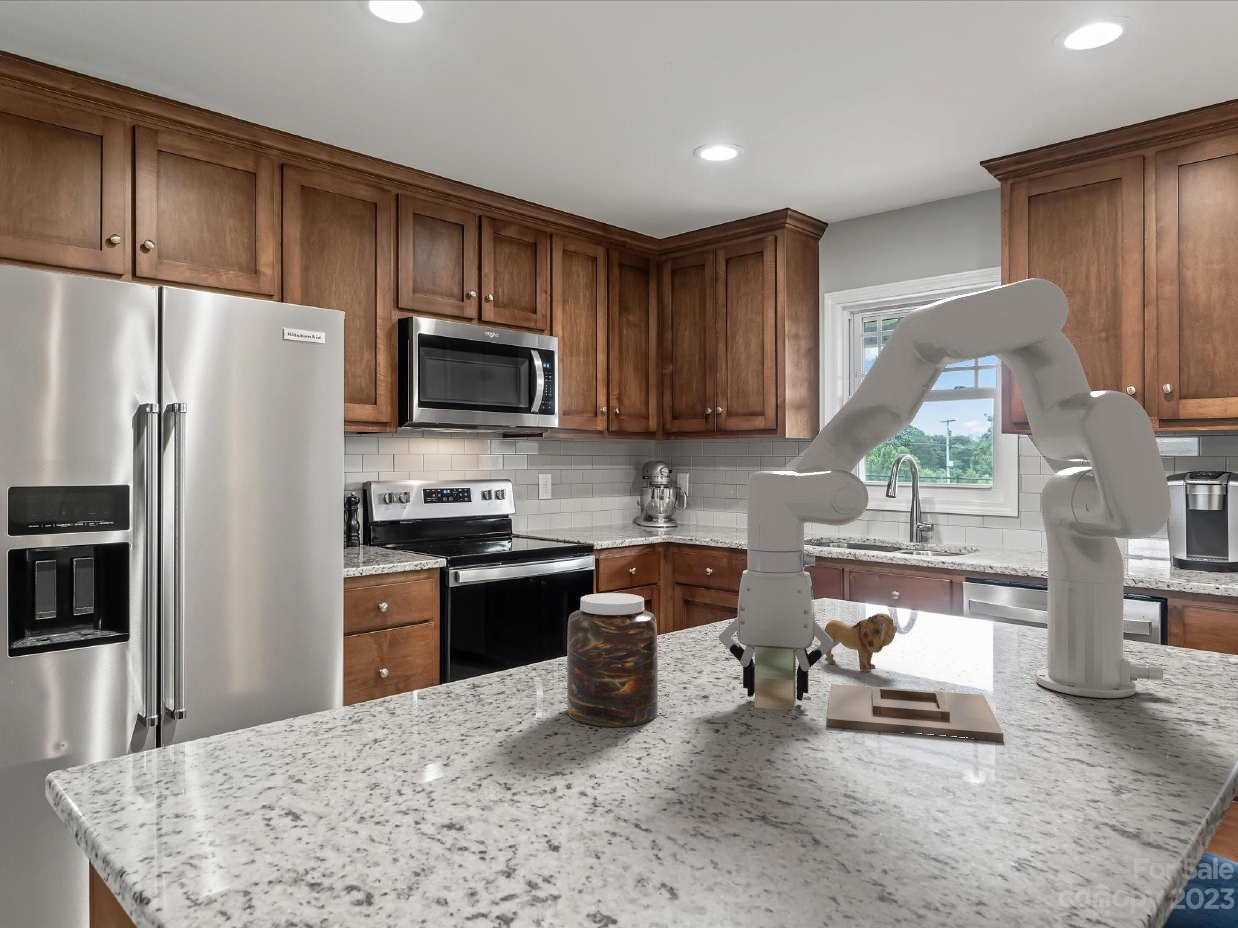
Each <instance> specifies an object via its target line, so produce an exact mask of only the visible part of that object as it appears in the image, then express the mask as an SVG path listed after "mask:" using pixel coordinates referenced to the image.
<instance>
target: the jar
mask: <svg viewBox="0 0 1238 928" xmlns="http://www.w3.org/2000/svg"><path fill="white" fill-rule="evenodd" d="M579 603H580V605H579V606H580V607H579V610H575V611H573V612H572V613H570V614H569V616H568V621H567V622H568V623H567V642H566V643H567V645H566V648H567V649H566V650H567V653H566V656H567V657H566V658H567V659H566V660H567V661H566V665H567V666H566V669H567V670H566V672H567V673H566V674H567V678H566V679H567V683H566V684H567V685H566V686H567V689H566V691H567V693H566V695H567V696H566V697H567V698H566V699H567V701H566V702H567V714H568V716H569V717H570V719H572V720H574V721H576V722H578V723H582V724H585V725H589V726H590V725H591V726H596V727H602V728H603V727H605V728H606V727H607V728H621V727H633V726H638V725H643V724H646V723H649V722H651V721H653V720H654V719H656V717H657V716H658V708H659V707H658V703H659V702H658V701H659V699H658V697H659V696H658V693H659V692H658V690H659V689H658V687H659V685H658V684H659V683H658V678H659V677H658V675H659V670H658V665H659V663H658V660H659V659H658V658H659V657H658V626H657V618H656V616H655V614H653V613H652V612H650V611H648V610H646V609H645V598H644V597H643V596H641V595H637V594H632V593H622V592H621V593H620V592H618V593H617V592H603V593H602V592H601V593H593V594H592V593H591V594H585V595H584V596H581V597H580V602H579Z"/></svg>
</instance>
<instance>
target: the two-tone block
mask: <svg viewBox="0 0 1238 928" xmlns="http://www.w3.org/2000/svg"><path fill="white" fill-rule="evenodd" d="M796 663H797V657H796V654H795V652H794V649H792V648H775V647H760V646H755V652H754V664H755V693H754V708H758V709H769V710H779V711H781V710H783V711H792V712H793V711H794V709H795V705H796V700H797V666H796V665H797V664H796Z"/></svg>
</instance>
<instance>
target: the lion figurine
mask: <svg viewBox="0 0 1238 928" xmlns="http://www.w3.org/2000/svg"><path fill="white" fill-rule="evenodd" d="M897 629H898V627H897V626H896V625H895V624H894V619H893V618H892V617H891V616H890V615H889V614H887V613H884V612H881V613H876V614H873V615H872V616H869V617H868V618H865V619H862V620H861V619H860V620H859V621H858V622H857V623H856V624H855V625H854V624H853V625H848V624H847V623H844V622H843V621H841V620H836V619H834V620H830V621H829V622H828V623H826V625H825V628H824V629H823V630H824V631H825V632H826V633H827V634H828V635H829V636H830V637H831V638H832V639H833V641H834V646H833V648H835V647H837V645H839V644H841V645H842V646H844V647H845V648H847V649H848V650H855V651H856V650H857V654H858V661H859V662H858V663H859V671H860V672H862V673H868V672H869V671H870V669H871V668H874V669H875V668H876V665H875V664H874V663H872V658H873V654H878V653H880V652H882V650H883V648H884V647H886V646H889V645H890V644H892V642H893V641H894V639H895V636H896V634H897V632H898V630H897ZM833 648H832V649H830V650H829V651H828V652H827V653H826V654H825V657H826V661H827V663H828V664H830V665H834V664H836V660H835V659H834V657H835V656H834V654H833V653H832V651H833ZM867 671H868V672H867Z"/></svg>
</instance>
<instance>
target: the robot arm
mask: <svg viewBox="0 0 1238 928" xmlns="http://www.w3.org/2000/svg"><path fill="white" fill-rule="evenodd" d="M1068 317H1069V301H1068V299H1067V296H1066V294H1065V293H1064V291H1063V290H1062V289H1061V288H1060V287H1059V286H1058V284H1055V283H1054V282H1052V281H1050V280H1047V279H1044V278H1035V277H1034V278H1028V279H1024V280H1020V281H1016V282H1012V283H1009V284H1005V285H1001V286H996V287H993V288H990V289H986V290H982V291H978V292H973V293H969V294H968V293H967V294H963V295H958V296H953V297H950V298H946V299H942V300H939V301H936V302H934V303H930V304H928V305H924V306H921V307H918V308H916V309H914V310H911V311H910V312H908V313H907V314H905V315H904V316H903V318H901V320H900V321H899V322H898V323H897V325H896V326H895V328H894V330H893V331H892V333H891V334H890V336H889V338H888V339H887V341H886V343H885V344H884V346H883V348H882V349H881V350H880V352H879V354H878V355H877V356H876V357H877V358H876V359H874V361H873V364H872V365H871V366H870V368H869V370H868V371H867V373H866V375H865V376H864V378H863V380H862V381H861V383H860V385H859V386H858V388H857V390H856V391H855V392H854V394H853V395H852V396H851V398H849V399H848V400H847V402H846V403H844V405H842V407H840V409H839V410H838V412H836V414H835V415H834V416H833V417H832V418H831V419H830V421H829V420H828V422H827V424H825V426H823V427H822V429H821V430H820V431H819V433H818V434H817V435H816V436H815V437H814V438H813V440H812V442H811V443H810V444H809V446H808V448H807V449H806V451H805V452H804V454H803V455H802V457H801V459H800V460H799V462H798V464H797V466H796V467H795V469H794V470H793V471H790V470H761V471H756V472H753V473H751V474H750V476H749V477H748V479H747V491H746V492H747V497H746V499H747V501H746V502H747V506H746V507H747V508H746V509H747V511H746V513H747V515H746V516H747V518H746V519H747V520H746V521H747V523H746V525H747V529H746V530H747V531H746V534H747V536H746V537H747V539H746V540H747V544H746V545H747V549H746V550H747V555H746V557H747V558H746V559H747V560H746V561H747V564H746V565H747V569H745V570H743V571H742V574H741V578H740V585H739V592H738V602H737V617H736V618H735V619H734V620H733V621H731V623H730V624H729V625H728V626H727V627H726V628H725V629H723V630H722V632H721V633H720V634H719V636H718V640H719V642H721V644H723V645H724V646H725V648H726V649H728V650H729V652H730V654H732V656H733V657H734V658H735V659H736V660H737V661H738V662H739V663H740V665H741V666H742V688H743V689H747V693H746V695H747V697H748V698H749V697H750V698H752V697H753V696H755V661H754V659H753V656H754V655H755V646H760V647H775V648H792V649H794V652H795V654H796V660H797V662H798V666H797V667H796V700H797V701H800V702H803V698H804V694H809V670H810V668H812V667H813V666H814V665H815V664H816V663H817V662H819V660H820V659H821V658H823V656H824V655H826V653H827V652H828V651H829V650H830V649H832V650H833V649H834V647H833V646H834V641H833V639H832V638H831V637H830V636H829V635H828V634H827V633H826V632H825V631H824V630H825V629H823V627H821V625H820V624H819V622H817V621H816V620H815V617H816V616H815V601H814V591H813V583H812V578H811V574H810V572H808V571H805V569H806V568H807V567H810V566H816V555H815V554H814V555H813V554H810V553H807V552H806V551H805V524H817V525H818V524H819V525H826V526H833V527H837V526H838V527H840V526H845V525H846V526H847V525H850V524H852V523H854V522H856V521H857V520H859V519H860V518H861V517H862V516H863V515H864V513H865V512H866V510H867V509H868V504H869V492H868V489H867V486H866V485H865V483H864V481H862V479H861V478H860V477H858V476H857V475H855V474H854V473H852V472H853V471H854V470H855V468H856V467H857V465H858V464H859V463H860V462H861V461H862V460H863V459H864V457H866V456H867V455H868V454H869V453H871V451H873V450H874V449H876V448H877V447H879V446H880V445H882V444H883V443H886V442H887V441H889V440H891V439H893V438H894V437H896V436H898V435H899V434H900V433H902V432H903V431H904V430H905V429H907V428H908V427H909V426H910V425H911V423H912V422H913V421H914V419H915V418H916V416H917V414H918V412H919V411H920V409H921V407H922V406H923V404H924V402H925V401H926V399H927V398H928V396H929V394H930V393H931V392H932V391H931V390H932V389H933V387H934V385H936V383H937V382H938V379H939V378H940V377H941V374H942V373H943V371H944V369H945V368H946V367H947V366H948V365H953V364H957V363H958V364H959V363H962V362H963V363H964V362H968V361H973V360H976V359H981V358H987V357H992V356H995V357H996V358H998V359H999V360H1000V361H1001V362H1003V363H1004V364H1005V365H1006V366H1007V367H1008V369H1009V370H1010V371H1011V374H1012V375H1013V377H1014V379H1015V382H1016V384H1017V387H1018V390H1019V393H1020V397H1021V400H1022V403H1023V404H1022V405H1023V407H1024V411H1025V414H1026V418H1027V421H1028V425H1029V428H1030V431H1031V436H1032V439H1033V441H1034V444H1035V447H1036V448H1037V450H1038V452H1039V453H1040V454H1041V455H1043V456H1044V457H1046V458H1049V459H1051V460H1054V461H1063V462H1089V465H1090V466H1073V467H1069V468H1065V469H1063V470H1060V471H1057V472H1056V473H1055V474H1053V475H1051V477H1049V478H1048V480H1047V481H1046V482H1045V484H1044V486H1043V488H1042V491H1041V495H1040V510H1041V516H1042V521H1043V525H1044V530H1045V536H1046V538H1045V539H1046V544H1047V545H1046V546H1047V548H1046V549H1047V639H1046V640H1047V642H1046V644H1047V653H1046V654H1047V663H1046V665H1047V667H1046V668H1042V669H1039V670H1038V671H1036V672H1035V682H1036V683H1037V684H1039V685H1040V686H1041V687H1044V688H1046V689H1049V690H1051V691H1055V692H1059V693H1063V694H1068V695H1071V696H1072V695H1073V696H1077V697H1085V698H1086V697H1087V698H1097V699H1118V698H1120V699H1121V698H1127V697H1131V696H1133V695H1134V694H1136V693H1137V684H1136V683H1135V682H1137V680H1138V679H1144V680H1150V681H1160V682H1161V681H1163V679H1164V671H1163V668H1162V666H1160V665H1159V666H1158V665H1147V664H1146V663H1141V662H1139V663H1138V662H1131V661H1130V660H1129V659H1127V658H1126V657H1125V656H1124V587H1125V586H1124V581H1125V577H1124V576H1125V569H1124V568H1125V566H1124V560H1123V557H1122V556H1123V555H1122V553H1121V549H1120V547H1119V544H1118V541H1117V538H1118V539H1124V540H1125V539H1126V540H1141V539H1148V538H1150V537H1152V536H1155V535H1156V534H1158V533H1159V532H1160V531H1161V530H1162V529H1163V528H1164V526H1165V525H1166V523H1167V522H1168V519H1169V517H1170V513H1171V509H1172V508H1171V507H1172V505H1171V502H1172V501H1171V499H1172V498H1171V492H1170V486H1169V482H1168V479H1167V475H1166V471H1165V468H1164V467H1165V466H1164V464H1163V460H1162V456H1161V453H1160V449H1159V447H1158V445H1159V444H1158V441H1157V437H1156V435H1155V431H1154V428H1153V424H1152V421H1151V419H1150V418H1149V415H1148V413H1147V412H1146V411H1147V410H1145V409H1144V408H1143V406H1142V405H1141V403H1139V402H1138V401H1137V400H1136V399H1135V398H1134V397H1132V396H1130V394H1129V395H1128V393H1124V392H1122V391H1117V390H1110V389H1109V390H1097V391H1092V389H1091V387H1090V384H1089V382H1088V379H1087V376H1086V374H1085V371H1084V367H1083V365H1082V363H1081V360H1080V357H1079V355H1078V352H1077V349H1076V348H1075V346H1074V345H1073V343H1072V342H1071V340H1070V339H1069V338H1068V337H1067V336H1066V335H1065V334H1064V333H1063V332H1062V331H1061V330H1062V329H1063V327H1064V325H1065V324H1066V322H1067V320H1068V319H1067V318H1068ZM734 634H736V638H737V640H738V642H739V643H740V644H742V645H744V646H745V648H743V647H742V646H741V645H740V644H739V643H738V642H736V641H735V639H734V638H733V635H734ZM815 638H816V639H817V640H818V641H819V642H820V643H819V644H818V645H817V647H815V648H814V649H812V651H810V652H809V653H808V651H807V650H808V648H811V647H812V645H813V641H814V640H815Z"/></svg>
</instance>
